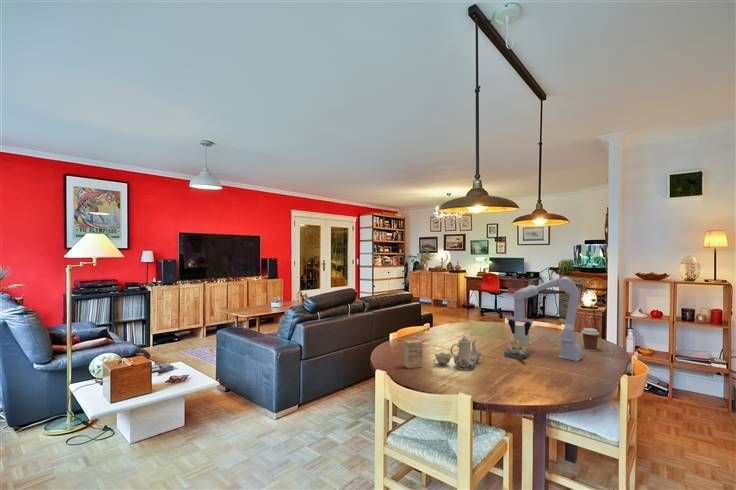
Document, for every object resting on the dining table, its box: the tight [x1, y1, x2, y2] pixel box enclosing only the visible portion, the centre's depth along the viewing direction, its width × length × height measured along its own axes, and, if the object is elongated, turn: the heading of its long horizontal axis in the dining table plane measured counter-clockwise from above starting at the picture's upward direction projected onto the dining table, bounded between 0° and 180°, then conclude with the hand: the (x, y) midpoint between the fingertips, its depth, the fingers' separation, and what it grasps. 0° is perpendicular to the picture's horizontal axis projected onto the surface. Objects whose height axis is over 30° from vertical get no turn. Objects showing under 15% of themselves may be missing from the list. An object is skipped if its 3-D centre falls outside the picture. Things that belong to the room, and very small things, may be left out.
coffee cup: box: [580, 327, 600, 352], centre depth 212 cm, size 9×9×12 cm
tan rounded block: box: [513, 339, 521, 350], centre depth 200 cm, size 3×5×9 cm, turn 142°
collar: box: [507, 345, 527, 360], centre depth 195 cm, size 17×7×2 cm, turn 173°
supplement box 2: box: [513, 322, 530, 347], centre depth 225 cm, size 7×7×13 cm
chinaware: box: [433, 335, 485, 371], centre depth 185 cm, size 28×17×17 cm, turn 111°
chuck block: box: [503, 350, 531, 361], centre depth 200 cm, size 10×10×2 cm
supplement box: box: [404, 339, 423, 370], centre depth 184 cm, size 8×5×13 cm, turn 105°
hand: (519, 334), depth 210 cm, fingers open, 7 cm apart
